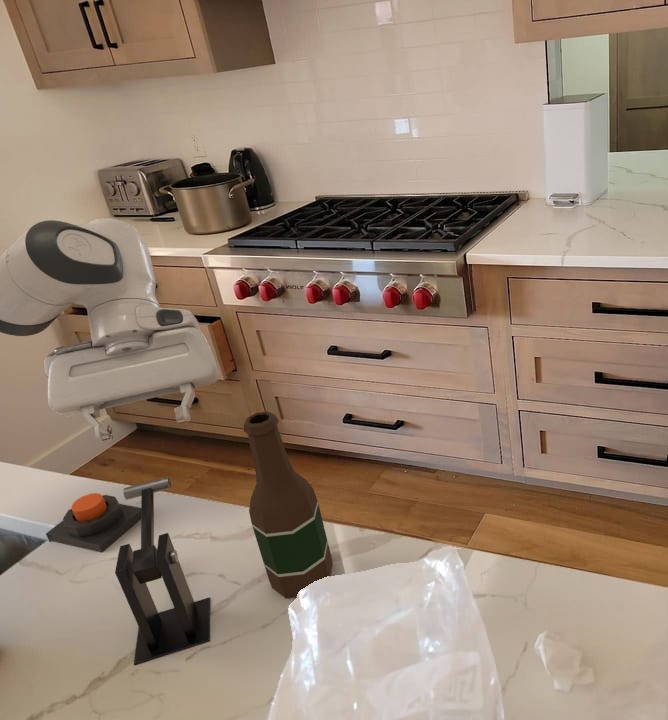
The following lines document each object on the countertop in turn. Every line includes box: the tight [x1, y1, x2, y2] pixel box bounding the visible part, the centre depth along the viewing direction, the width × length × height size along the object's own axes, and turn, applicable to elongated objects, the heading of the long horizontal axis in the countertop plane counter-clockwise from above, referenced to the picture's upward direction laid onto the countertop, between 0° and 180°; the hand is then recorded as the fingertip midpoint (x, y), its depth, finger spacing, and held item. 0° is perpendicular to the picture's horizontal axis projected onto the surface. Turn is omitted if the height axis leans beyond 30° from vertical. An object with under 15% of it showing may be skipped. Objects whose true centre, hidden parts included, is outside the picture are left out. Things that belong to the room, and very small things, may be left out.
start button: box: [70, 492, 107, 522], centre depth 95 cm, size 4×4×2 cm
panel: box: [45, 494, 141, 553], centre depth 96 cm, size 10×8×4 cm
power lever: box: [122, 476, 172, 584], centre depth 77 cm, size 13×5×2 cm, turn 19°
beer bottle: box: [243, 410, 334, 600], centre depth 79 cm, size 8×8×24 cm
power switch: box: [114, 532, 212, 666], centre depth 76 cm, size 7×8×13 cm
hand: (144, 430), depth 87 cm, fingers open, 8 cm apart
